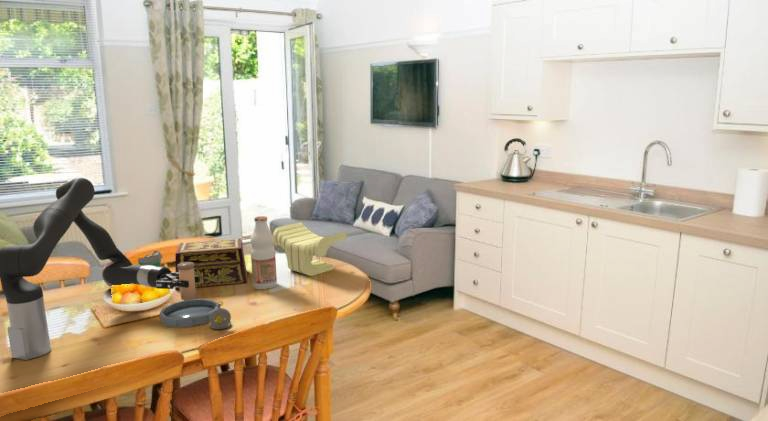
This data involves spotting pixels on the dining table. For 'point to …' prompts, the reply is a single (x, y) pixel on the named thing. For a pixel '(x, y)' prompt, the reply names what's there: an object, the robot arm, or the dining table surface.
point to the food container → (151, 259)
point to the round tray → (187, 313)
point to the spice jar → (187, 275)
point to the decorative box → (214, 262)
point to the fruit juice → (263, 255)
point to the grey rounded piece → (220, 318)
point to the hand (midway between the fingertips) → (193, 281)
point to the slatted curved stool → (304, 248)
